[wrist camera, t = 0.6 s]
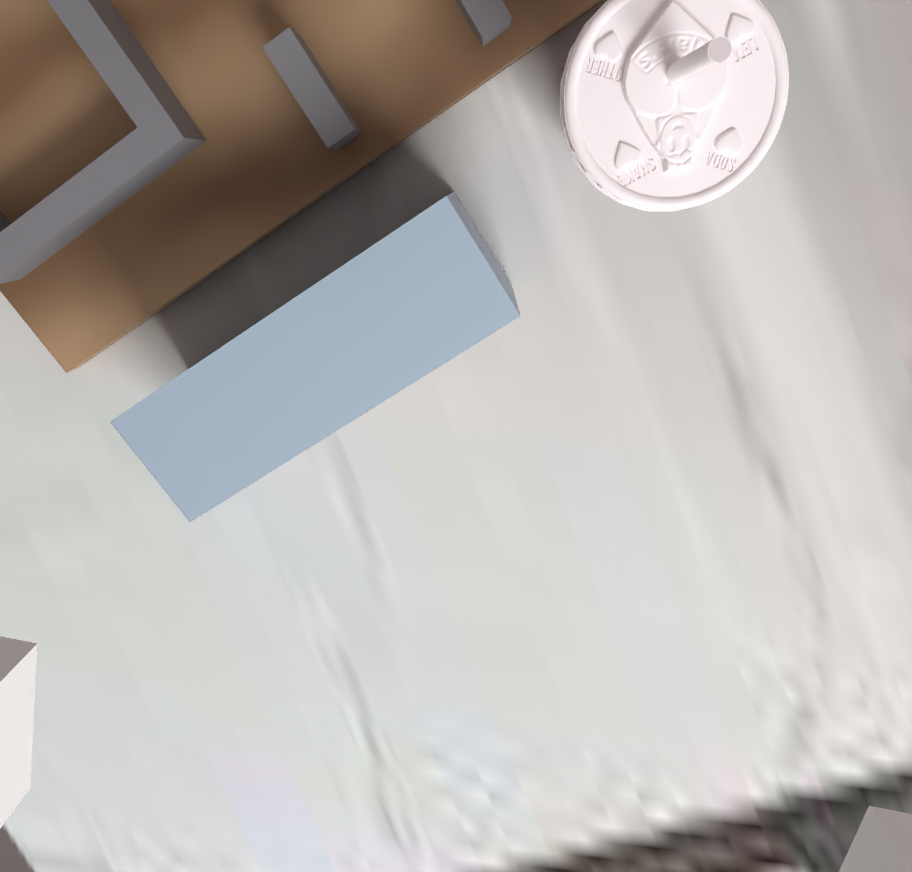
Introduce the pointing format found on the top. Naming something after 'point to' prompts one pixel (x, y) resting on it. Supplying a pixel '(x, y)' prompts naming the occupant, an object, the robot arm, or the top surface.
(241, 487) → the light blue rectangular block
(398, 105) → the jig board
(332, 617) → the top surface
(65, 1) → the frame
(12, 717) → the robot arm
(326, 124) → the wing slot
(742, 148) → the smoothie
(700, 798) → the top surface
